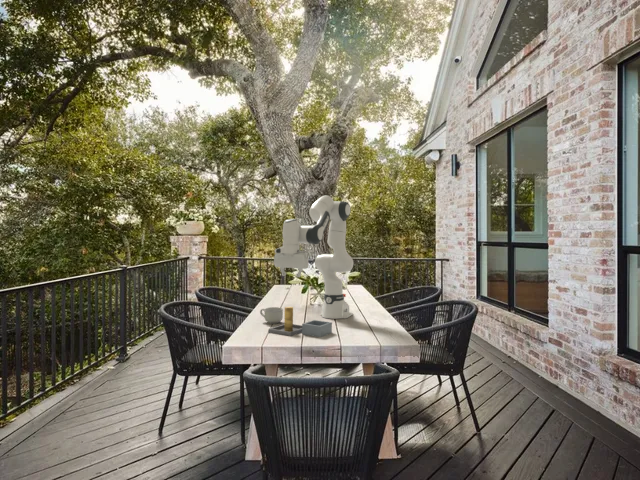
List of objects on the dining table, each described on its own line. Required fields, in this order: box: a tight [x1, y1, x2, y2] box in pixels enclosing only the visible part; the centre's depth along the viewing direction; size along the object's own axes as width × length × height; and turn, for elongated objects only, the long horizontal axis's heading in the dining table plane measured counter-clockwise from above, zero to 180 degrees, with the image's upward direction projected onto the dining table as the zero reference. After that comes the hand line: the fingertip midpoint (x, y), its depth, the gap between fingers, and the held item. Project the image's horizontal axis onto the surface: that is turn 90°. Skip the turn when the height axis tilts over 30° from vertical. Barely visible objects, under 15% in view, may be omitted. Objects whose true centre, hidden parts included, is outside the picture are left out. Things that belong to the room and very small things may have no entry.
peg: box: [283, 306, 294, 332], centre depth 211 cm, size 4×4×12 cm
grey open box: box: [301, 319, 333, 338], centre depth 206 cm, size 11×11×6 cm
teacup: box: [259, 306, 284, 325], centre depth 235 cm, size 14×11×8 cm
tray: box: [268, 323, 302, 337], centre depth 211 cm, size 16×14×2 cm
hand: (291, 276), depth 211 cm, fingers open, 8 cm apart
